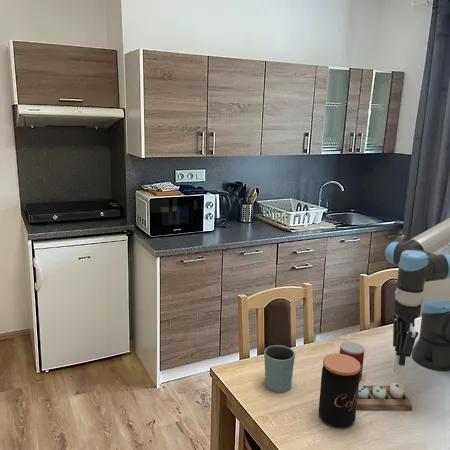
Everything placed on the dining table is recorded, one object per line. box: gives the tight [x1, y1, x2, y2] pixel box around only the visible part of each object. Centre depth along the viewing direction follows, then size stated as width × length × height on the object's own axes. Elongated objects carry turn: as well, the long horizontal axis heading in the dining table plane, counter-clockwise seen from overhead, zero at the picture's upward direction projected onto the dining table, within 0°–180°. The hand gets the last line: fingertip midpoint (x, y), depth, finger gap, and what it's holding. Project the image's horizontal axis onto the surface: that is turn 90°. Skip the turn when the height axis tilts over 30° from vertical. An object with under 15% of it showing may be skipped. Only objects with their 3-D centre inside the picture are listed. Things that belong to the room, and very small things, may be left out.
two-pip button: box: [372, 385, 386, 399], centre depth 139 cm, size 4×4×3 cm
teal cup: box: [263, 344, 296, 393], centre depth 145 cm, size 10×10×12 cm
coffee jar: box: [318, 353, 361, 429], centre depth 129 cm, size 11×11×18 cm
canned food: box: [339, 341, 365, 381], centre depth 152 cm, size 8×8×11 cm
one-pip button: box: [389, 381, 405, 399], centre depth 139 cm, size 4×4×3 cm
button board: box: [356, 384, 413, 412], centre depth 139 cm, size 17×10×2 cm, turn 91°
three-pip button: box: [357, 385, 369, 399], centre depth 139 cm, size 4×4×3 cm
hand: (398, 372), depth 137 cm, fingers closed
